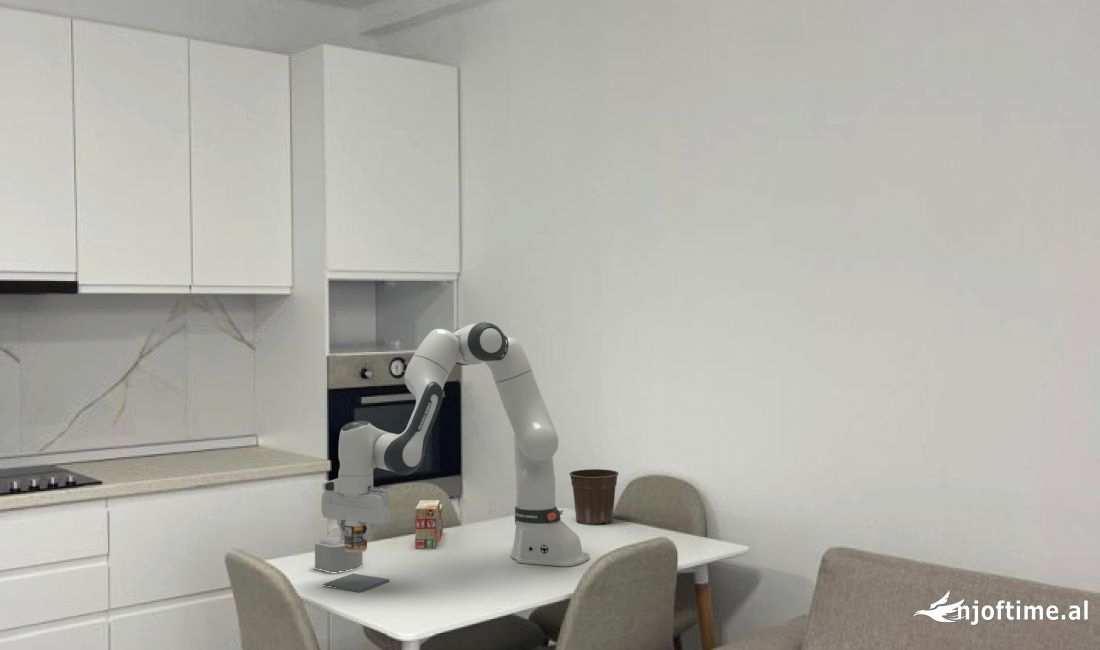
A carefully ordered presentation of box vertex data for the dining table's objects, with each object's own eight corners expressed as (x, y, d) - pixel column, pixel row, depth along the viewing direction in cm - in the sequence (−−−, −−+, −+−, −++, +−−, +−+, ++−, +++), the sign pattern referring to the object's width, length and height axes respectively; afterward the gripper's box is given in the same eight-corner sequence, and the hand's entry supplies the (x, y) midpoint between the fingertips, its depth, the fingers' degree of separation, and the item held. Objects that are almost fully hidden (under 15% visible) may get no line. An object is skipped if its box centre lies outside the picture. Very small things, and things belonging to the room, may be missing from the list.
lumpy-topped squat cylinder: (309, 568, 294) (309, 536, 294) (346, 559, 304) (346, 528, 304) (334, 574, 288) (334, 542, 287) (371, 565, 298) (371, 534, 297)
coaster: (389, 581, 281) (389, 579, 281) (360, 592, 270) (360, 590, 270) (352, 575, 286) (352, 573, 286) (322, 586, 276) (322, 583, 276)
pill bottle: (356, 554, 274) (356, 515, 274) (339, 551, 277) (339, 513, 277) (371, 549, 279) (371, 511, 279) (355, 547, 282) (355, 509, 282)
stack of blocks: (423, 533, 338) (423, 494, 338) (443, 533, 338) (443, 494, 338) (415, 549, 317) (415, 507, 316) (436, 549, 317) (436, 507, 316)
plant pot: (565, 525, 349) (565, 476, 349) (572, 515, 365) (573, 468, 365) (615, 527, 347) (615, 477, 346) (620, 517, 363) (620, 469, 362)
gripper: (395, 486, 275) (395, 540, 276) (333, 479, 285) (333, 531, 286) (380, 490, 270) (380, 545, 270) (317, 483, 280) (317, 536, 280)
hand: (355, 538), depth 278 cm, fingers closed on pill bottle, 6 cm apart
